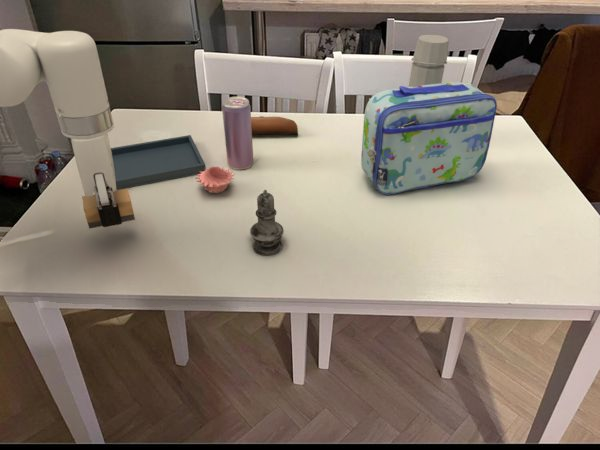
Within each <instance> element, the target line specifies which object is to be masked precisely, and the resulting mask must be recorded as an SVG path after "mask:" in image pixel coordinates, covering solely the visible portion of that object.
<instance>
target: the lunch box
mask: <svg viewBox="0 0 600 450" xmlns="http://www.w3.org/2000/svg"><path fill="white" fill-rule="evenodd" d="M497 107H498V103H497V99H496V98H495V97H494V96H493V95H491V94H488V93H484V92H483V91H481V90H480V88H478V87H477V86H475V84H472V83H469V82H442V83H440V84H431V85H422V86H413V87H409V86H403V85H400V86H399V88H398V87H397V88H392V89H391V88H390V89H385V90H381V91H379V92H377V93H375V94H374V95H372V96H371V97H370V98H369V100H368V102H367V103H366V106H365V110H364V116H363V126H362V127H363V128H362V137H361V139H362V140H361V156H360V157H361V158H360V161H361V169H362V171H363V173H364V174H365V175H366V176H368V179H370V181H371V182H372V183H373V186H374V187H375V188H376V190H377V191H378V192H379V193H381V194H383V195H387V196H390V195H395V194H400V193H403V192H409V191H413V190H420V189H425V188H429V187H434V186H437V185H443V184H449V183H458V182H463V181H468V180H470V179H472V178H474V177H476V175H477V174H479V173H480V172H481V170H482V169H483V167H484V165H485V164H486V160H487V156H488V152H489V149H490V144H491V140H492V135H493V129H494V123H495V118H496V113H497Z"/></svg>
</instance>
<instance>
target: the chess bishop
mask: <svg viewBox="0 0 600 450" xmlns="http://www.w3.org/2000/svg"><path fill="white" fill-rule="evenodd" d="M256 205H257V209H256V211H255V216H256V217H257V222H255V223H254V224H252V226H251V227H250V228H249V229H250V230H249V234H250V236H251V237H252V239H253V241H254V242H253V243H252V250H253V251H254V252H255V253H256V254H258V255H260V256H266V257H267V256H273V255H274V256H275V255H276V254H278V253H279V252H281V250H282V249H283V243H282V241H281V239H282V236H283V234H284V227H283V225H282V224H281V223H280V222H277V221H276V215H277V210H276V208H275V199H274V195H273V194H271V193H270V192H268V190H267V189H264V190H263V191H262V192H261V193H259V195H257V197H256Z"/></svg>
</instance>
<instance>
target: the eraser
mask: <svg viewBox="0 0 600 450" xmlns="http://www.w3.org/2000/svg"><path fill="white" fill-rule="evenodd" d="M113 194H114V198H115V202H116V203H118V207H119V211H120V216H121V220H122V223H126V222H130V221H135V220H136V217H135V214H134V208H133V205H132V204H133V203H132V200H131V195H130V191H129V188H124V189H118V190H116V191H115V192H114V193H113ZM108 198H111V196H110V194H108ZM82 207H83V212H84V216H85V219H86V222H87V225H88V229H94V228H100V227H103V226H102V223H101V220H100V216H99V212H98V209H97V207H98V204H97V200H96V197H95V193H94V194H93V196H90V197H87V196H85V195H83V196H82Z"/></svg>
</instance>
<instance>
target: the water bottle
mask: <svg viewBox="0 0 600 450" xmlns="http://www.w3.org/2000/svg"><path fill="white" fill-rule="evenodd" d="M449 43H450V40H449V38H448V37H446V36H444V35H437V34H422V35H419V36H418V37H417V40H416V43H415V49H414V53H413V56H412V57H411V60H410V61H411V68H410V75H409V81H408V87H413V86H422V85H431V84H440V83H443V77H444V72H445V65H447V64H448V51H449Z"/></svg>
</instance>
